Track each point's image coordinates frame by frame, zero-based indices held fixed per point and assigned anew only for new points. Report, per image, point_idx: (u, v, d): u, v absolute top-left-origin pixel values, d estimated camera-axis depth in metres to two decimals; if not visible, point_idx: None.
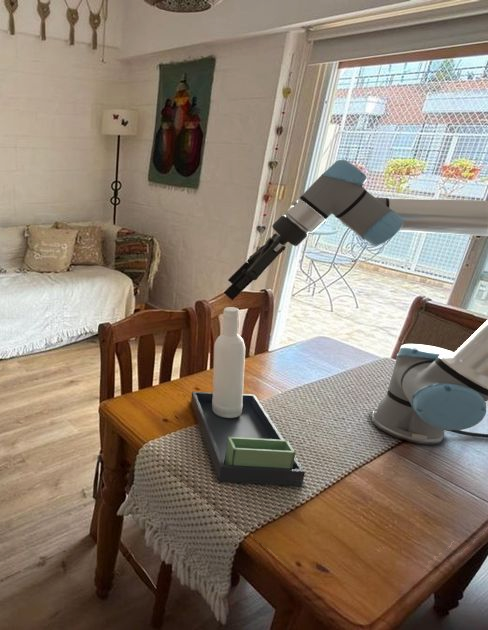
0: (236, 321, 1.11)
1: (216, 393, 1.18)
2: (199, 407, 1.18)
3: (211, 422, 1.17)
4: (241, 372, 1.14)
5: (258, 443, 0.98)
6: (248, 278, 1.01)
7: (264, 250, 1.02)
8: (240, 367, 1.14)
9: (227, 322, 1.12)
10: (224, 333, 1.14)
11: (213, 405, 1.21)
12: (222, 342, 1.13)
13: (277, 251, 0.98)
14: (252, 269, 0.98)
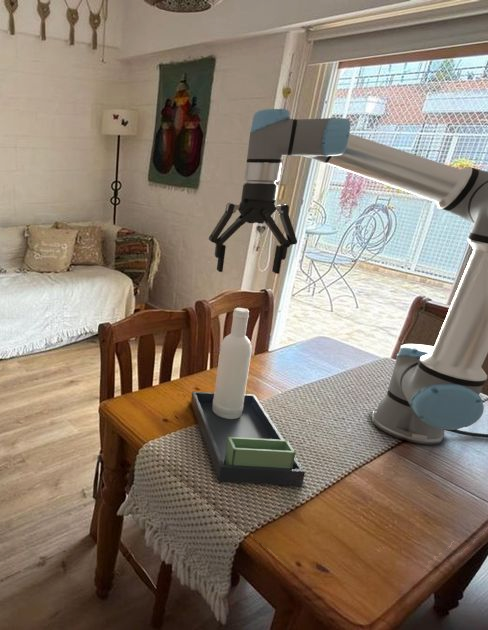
0: (245, 322, 1.12)
1: (218, 393, 1.18)
2: (199, 407, 1.18)
3: (211, 422, 1.17)
4: (245, 374, 1.15)
5: (258, 443, 0.98)
6: (216, 244, 1.07)
7: (237, 218, 1.06)
8: (245, 369, 1.14)
9: (236, 322, 1.12)
10: (232, 333, 1.14)
11: (214, 405, 1.21)
12: (229, 342, 1.13)
13: (227, 210, 1.04)
14: (211, 234, 1.08)
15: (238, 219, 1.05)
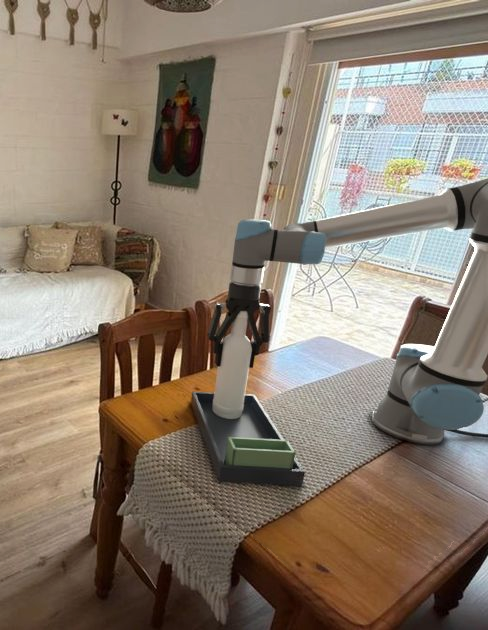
0: (245, 322, 1.12)
1: (218, 393, 1.18)
2: (199, 407, 1.18)
3: (211, 422, 1.17)
4: (245, 374, 1.15)
5: (258, 443, 0.98)
6: (214, 341, 1.15)
7: None
8: (245, 369, 1.14)
9: (236, 322, 1.12)
10: (232, 333, 1.14)
11: (214, 405, 1.21)
12: (229, 342, 1.13)
13: (215, 310, 1.12)
14: (208, 332, 1.16)
15: (228, 316, 1.13)
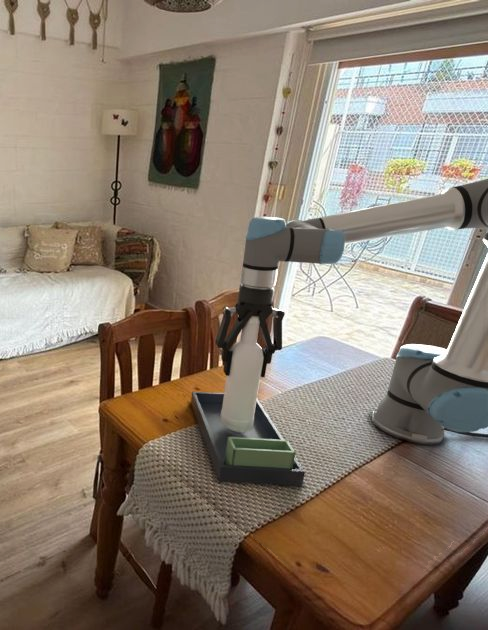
0: (257, 328, 1.03)
1: (227, 404, 1.10)
2: (199, 407, 1.18)
3: (211, 422, 1.17)
4: (257, 383, 1.06)
5: (258, 443, 0.98)
6: (222, 349, 1.07)
7: None
8: (256, 379, 1.06)
9: (247, 328, 1.04)
10: (242, 340, 1.06)
11: (222, 417, 1.13)
12: (240, 349, 1.05)
13: (224, 316, 1.04)
14: (216, 339, 1.08)
15: (237, 322, 1.05)
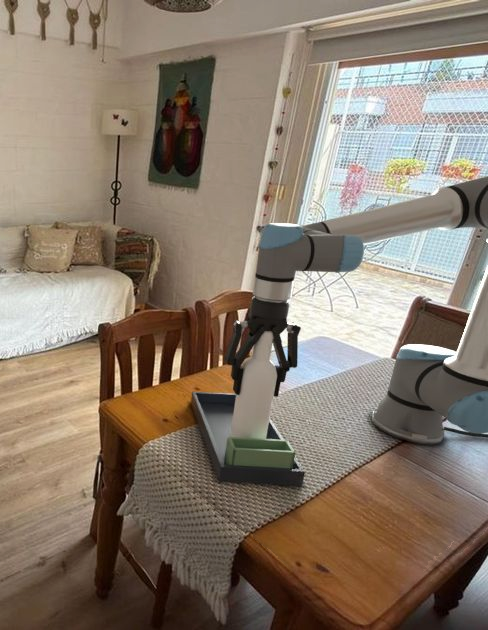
0: (270, 344, 0.95)
1: (237, 425, 1.02)
2: (199, 407, 1.18)
3: (211, 422, 1.17)
4: (269, 404, 0.98)
5: (258, 443, 0.98)
6: (232, 366, 0.99)
7: None
8: (269, 398, 0.97)
9: (259, 344, 0.95)
10: (254, 357, 0.97)
11: None
12: (251, 367, 0.96)
13: (235, 330, 0.96)
14: (225, 355, 0.99)
15: (249, 337, 0.97)
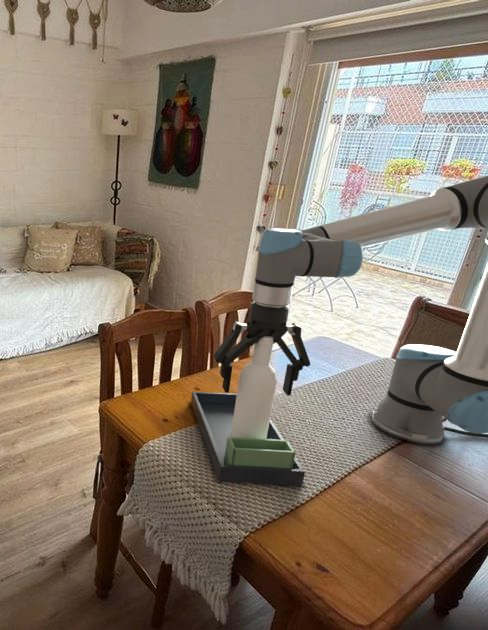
0: (270, 349, 0.95)
1: (236, 430, 1.02)
2: (199, 407, 1.18)
3: (211, 422, 1.17)
4: (269, 409, 0.98)
5: (258, 443, 0.98)
6: (221, 364, 0.99)
7: (245, 336, 0.98)
8: (269, 403, 0.97)
9: (259, 349, 0.96)
10: (254, 362, 0.97)
11: None
12: (251, 372, 0.97)
13: (233, 330, 0.95)
14: (216, 352, 0.99)
15: (246, 339, 0.97)
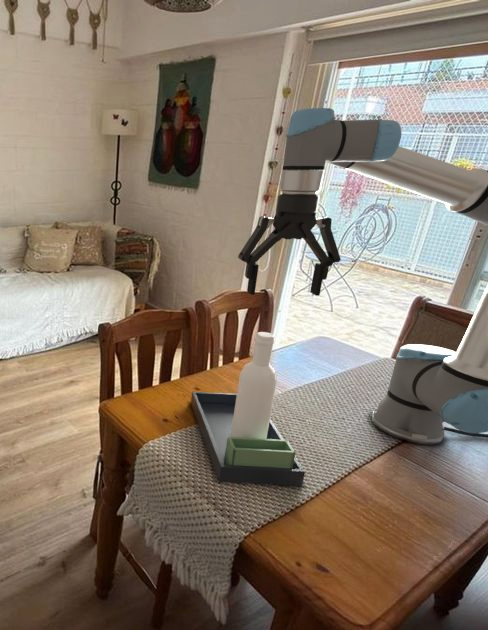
0: (270, 349, 0.95)
1: (236, 430, 1.02)
2: (199, 407, 1.18)
3: (211, 422, 1.17)
4: (269, 409, 0.98)
5: (258, 443, 0.98)
6: (247, 263, 0.94)
7: (271, 233, 0.93)
8: (269, 403, 0.97)
9: (259, 349, 0.96)
10: (254, 362, 0.97)
11: None
12: (251, 372, 0.97)
13: (260, 225, 0.91)
14: (241, 252, 0.94)
15: (272, 234, 0.92)
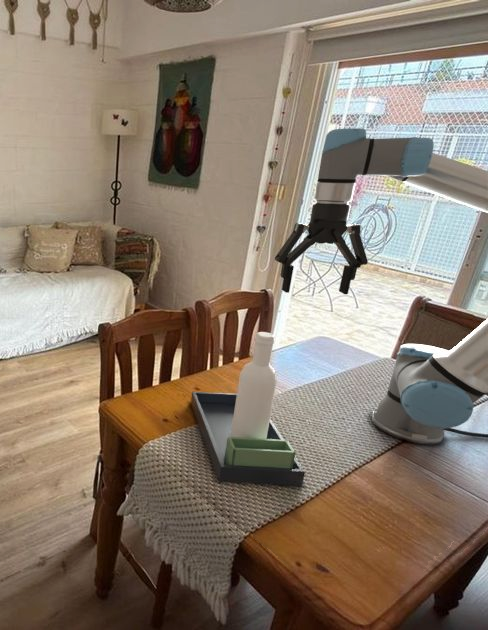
0: (270, 349, 0.95)
1: (236, 430, 1.02)
2: (199, 407, 1.18)
3: (211, 422, 1.17)
4: (269, 409, 0.98)
5: (258, 443, 0.98)
6: (283, 264, 1.05)
7: (305, 238, 1.04)
8: (269, 403, 0.97)
9: (259, 349, 0.96)
10: (254, 362, 0.97)
11: None
12: (251, 372, 0.97)
13: (296, 230, 1.02)
14: (277, 254, 1.05)
15: (307, 239, 1.03)
